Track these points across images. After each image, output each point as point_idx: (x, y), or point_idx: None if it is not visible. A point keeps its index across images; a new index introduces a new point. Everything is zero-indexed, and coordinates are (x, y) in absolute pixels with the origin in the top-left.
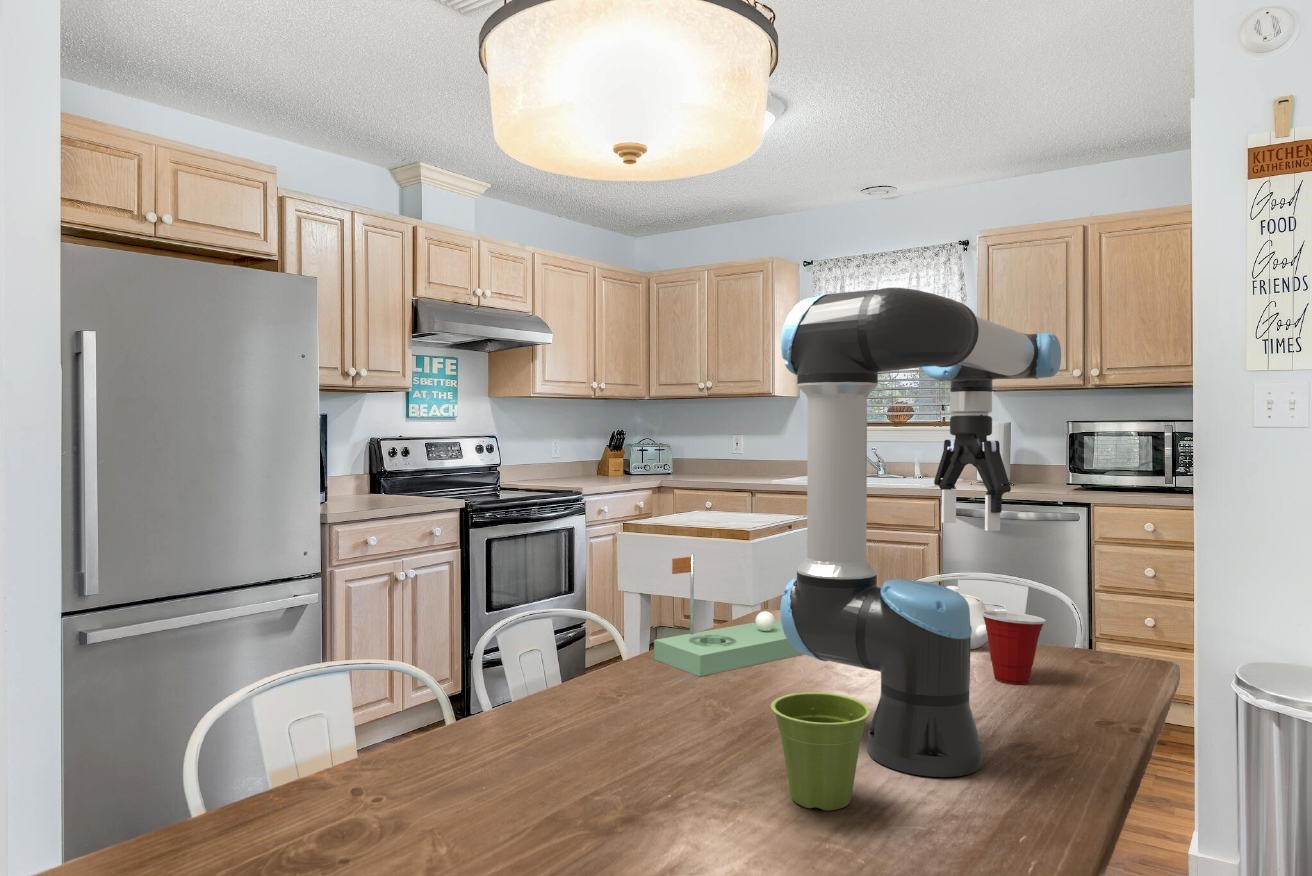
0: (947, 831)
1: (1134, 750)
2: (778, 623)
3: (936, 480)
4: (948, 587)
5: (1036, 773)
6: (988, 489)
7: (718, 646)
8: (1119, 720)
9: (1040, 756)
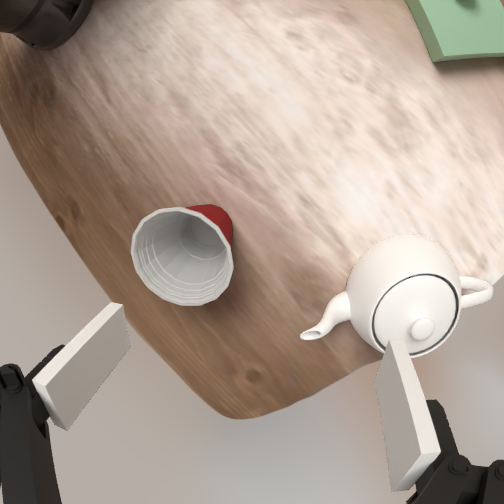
0: None
1: (31, 182)
2: (500, 39)
3: (500, 482)
4: (426, 321)
5: (20, 79)
6: (19, 399)
7: None
8: (78, 229)
9: (34, 98)
